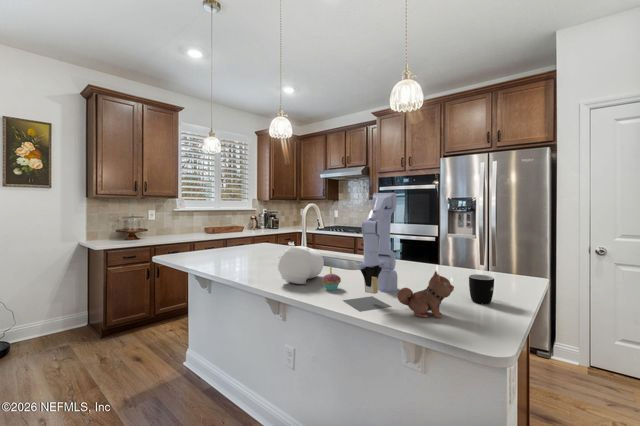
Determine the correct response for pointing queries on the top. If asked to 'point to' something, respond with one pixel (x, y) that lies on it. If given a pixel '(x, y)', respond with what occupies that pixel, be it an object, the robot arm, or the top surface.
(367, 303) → the mat
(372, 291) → the card box
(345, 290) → the top surface
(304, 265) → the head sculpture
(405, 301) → the figurine
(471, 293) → the mug
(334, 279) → the cupcake
